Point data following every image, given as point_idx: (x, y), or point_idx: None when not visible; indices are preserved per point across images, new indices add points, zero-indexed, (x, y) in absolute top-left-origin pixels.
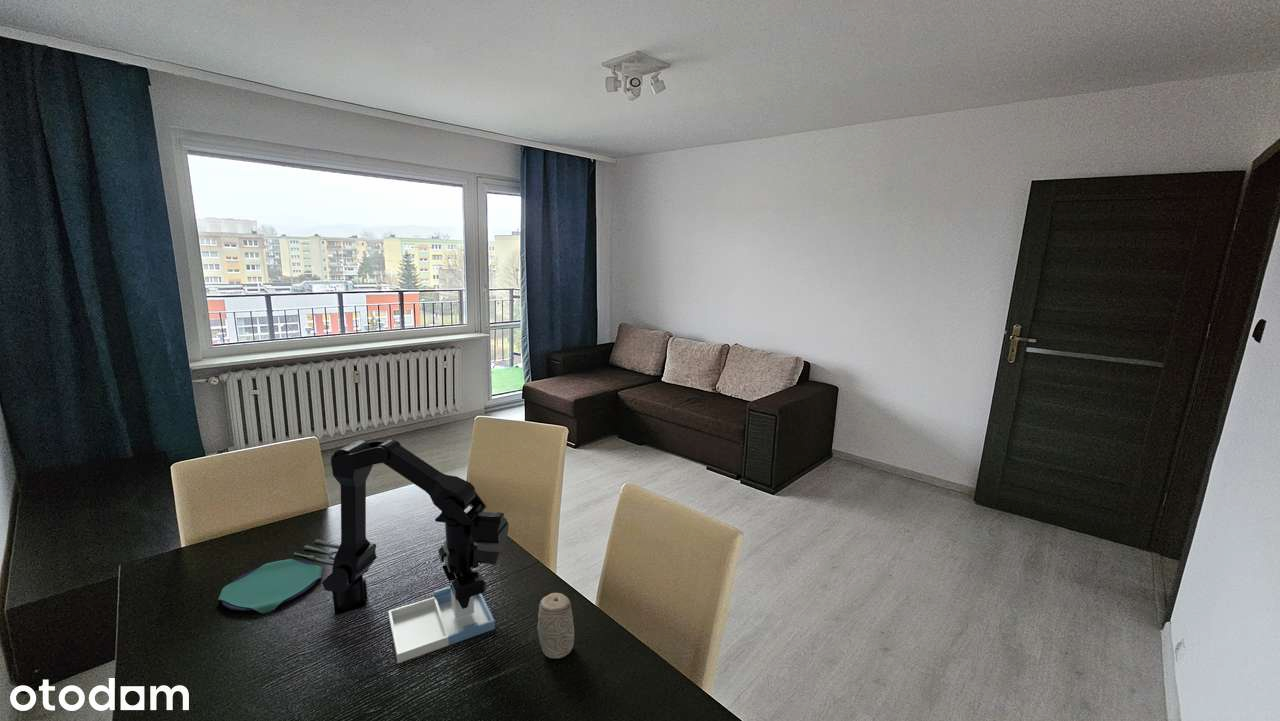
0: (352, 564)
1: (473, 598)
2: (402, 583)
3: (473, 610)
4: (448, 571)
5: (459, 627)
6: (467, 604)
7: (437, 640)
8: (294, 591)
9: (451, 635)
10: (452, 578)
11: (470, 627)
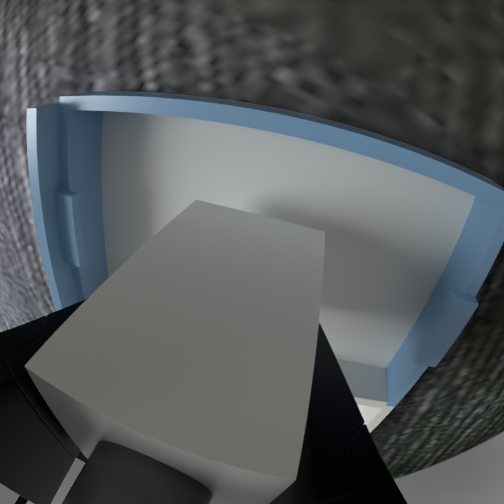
0: (27, 500)
1: (319, 309)
2: (2, 287)
3: (323, 244)
4: (36, 501)
5: (330, 303)
6: (327, 348)
7: (373, 428)
8: None
9: (400, 397)
10: (65, 447)
11: (454, 341)
